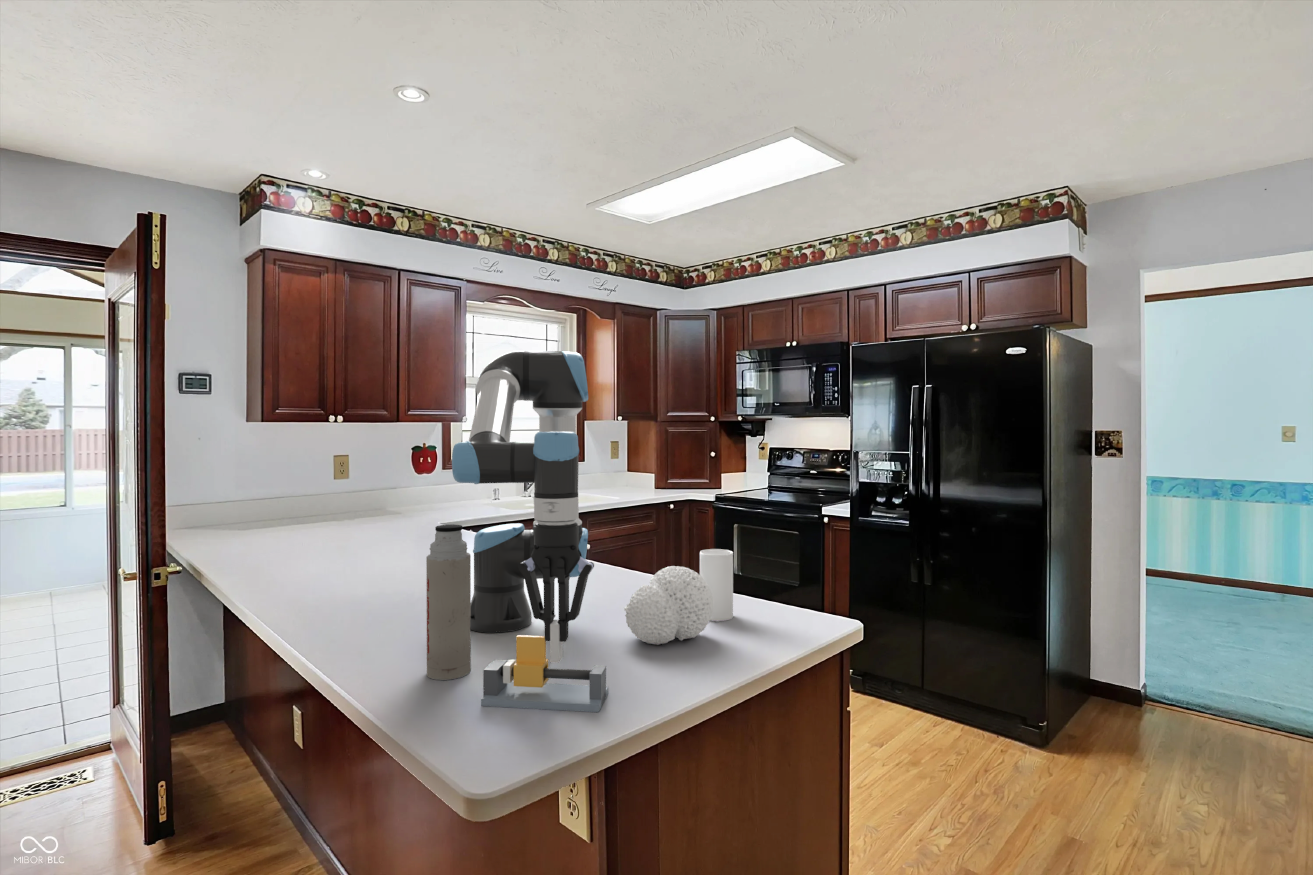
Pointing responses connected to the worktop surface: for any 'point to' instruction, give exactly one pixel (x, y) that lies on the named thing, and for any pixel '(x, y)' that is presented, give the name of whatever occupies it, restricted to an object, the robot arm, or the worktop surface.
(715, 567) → the cup
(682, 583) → the white coral
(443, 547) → the thermos bottle
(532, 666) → the yellow sliding carriage
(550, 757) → the worktop surface
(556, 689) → the rail rig
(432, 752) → the worktop surface
